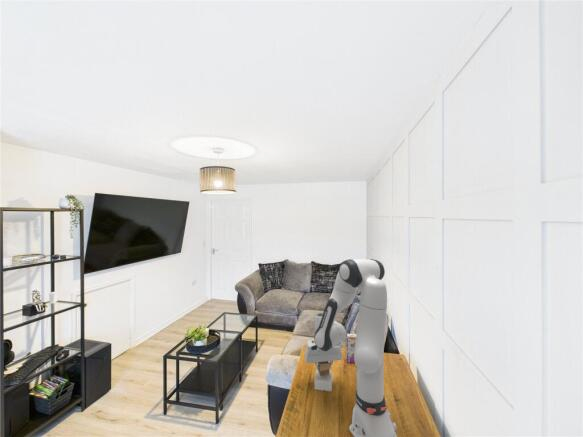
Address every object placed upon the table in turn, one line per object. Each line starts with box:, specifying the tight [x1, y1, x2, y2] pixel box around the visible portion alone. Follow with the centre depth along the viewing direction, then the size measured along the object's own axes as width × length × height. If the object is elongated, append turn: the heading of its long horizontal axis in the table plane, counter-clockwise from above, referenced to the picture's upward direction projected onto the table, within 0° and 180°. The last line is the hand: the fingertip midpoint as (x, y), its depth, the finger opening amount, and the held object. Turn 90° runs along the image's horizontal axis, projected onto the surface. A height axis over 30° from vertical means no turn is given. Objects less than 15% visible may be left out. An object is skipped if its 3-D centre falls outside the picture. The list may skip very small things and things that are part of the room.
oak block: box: [317, 361, 330, 376], centre depth 133 cm, size 5×5×6 cm
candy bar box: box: [345, 333, 356, 364], centre depth 154 cm, size 11×5×16 cm, turn 84°
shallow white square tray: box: [313, 369, 333, 392], centre depth 133 cm, size 9×9×5 cm
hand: (323, 368), depth 133 cm, fingers closed on oak block, 5 cm apart
